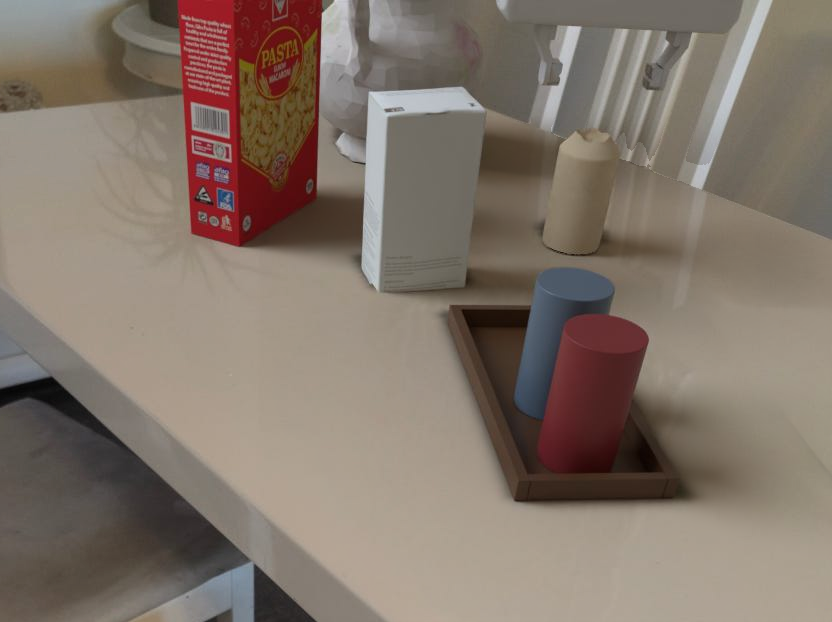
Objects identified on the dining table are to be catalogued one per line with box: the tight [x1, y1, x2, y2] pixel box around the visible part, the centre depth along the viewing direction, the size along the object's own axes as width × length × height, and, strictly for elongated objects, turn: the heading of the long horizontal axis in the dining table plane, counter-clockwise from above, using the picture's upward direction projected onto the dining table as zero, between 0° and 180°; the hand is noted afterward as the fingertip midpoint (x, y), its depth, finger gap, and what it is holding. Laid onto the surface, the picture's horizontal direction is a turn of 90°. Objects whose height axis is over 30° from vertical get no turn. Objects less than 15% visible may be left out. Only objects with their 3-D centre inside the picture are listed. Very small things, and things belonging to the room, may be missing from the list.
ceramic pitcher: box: [319, 0, 484, 164], centre depth 102 cm, size 22×20×25 cm
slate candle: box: [514, 266, 616, 420], centre depth 68 cm, size 5×5×9 cm
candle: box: [542, 127, 621, 256], centre depth 91 cm, size 6×6×10 cm
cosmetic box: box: [361, 87, 488, 293], centre depth 81 cm, size 8×6×15 cm
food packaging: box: [177, 0, 323, 247], centre depth 86 cm, size 15×5×25 cm, turn 153°
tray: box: [447, 304, 680, 502], centre depth 71 cm, size 11×25×2 cm, turn 6°
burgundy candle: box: [537, 314, 650, 474], centre depth 63 cm, size 5×5×9 cm
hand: (600, 86), depth 85 cm, fingers open, 8 cm apart
